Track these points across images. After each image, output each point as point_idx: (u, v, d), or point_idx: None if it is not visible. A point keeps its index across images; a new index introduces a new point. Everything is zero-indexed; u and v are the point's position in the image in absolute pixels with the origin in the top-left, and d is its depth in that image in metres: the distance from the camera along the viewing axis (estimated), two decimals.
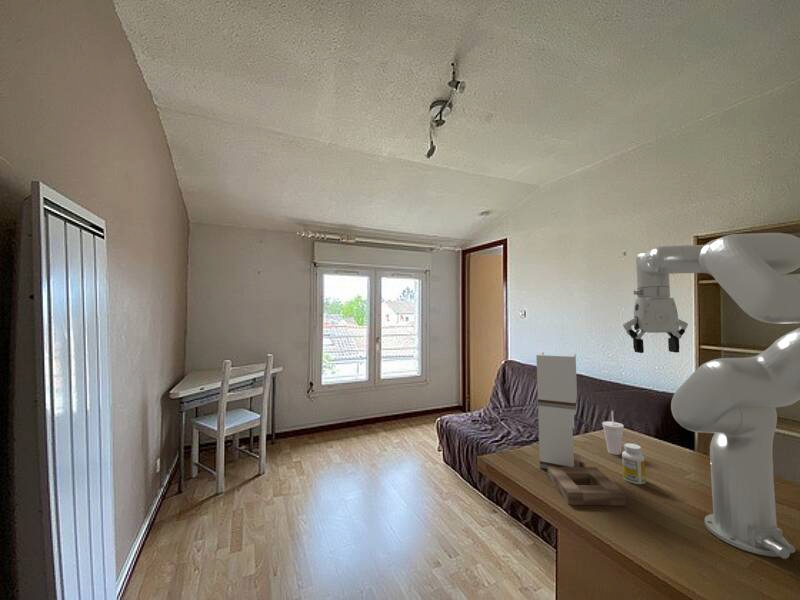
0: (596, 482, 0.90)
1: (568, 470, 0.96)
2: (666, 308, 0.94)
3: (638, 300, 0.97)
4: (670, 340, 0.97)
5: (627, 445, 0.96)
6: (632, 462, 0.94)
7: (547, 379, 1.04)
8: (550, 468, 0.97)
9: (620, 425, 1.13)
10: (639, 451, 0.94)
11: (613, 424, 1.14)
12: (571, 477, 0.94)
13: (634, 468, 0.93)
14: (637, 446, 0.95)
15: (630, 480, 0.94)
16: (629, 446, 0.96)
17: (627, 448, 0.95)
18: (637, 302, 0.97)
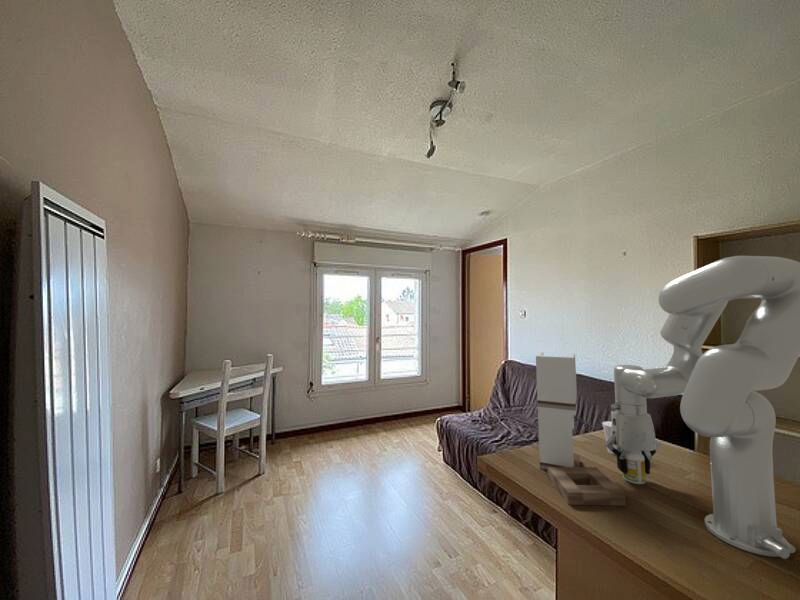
0: (596, 482, 0.90)
1: (568, 470, 0.96)
2: (643, 426, 0.93)
3: (615, 415, 0.96)
4: None
5: None
6: (632, 462, 0.94)
7: (546, 380, 1.03)
8: (550, 468, 0.97)
9: None
10: (639, 451, 0.94)
11: None
12: (571, 477, 0.94)
13: (634, 468, 0.93)
14: None
15: (630, 480, 0.94)
16: None
17: None
18: (614, 416, 0.97)
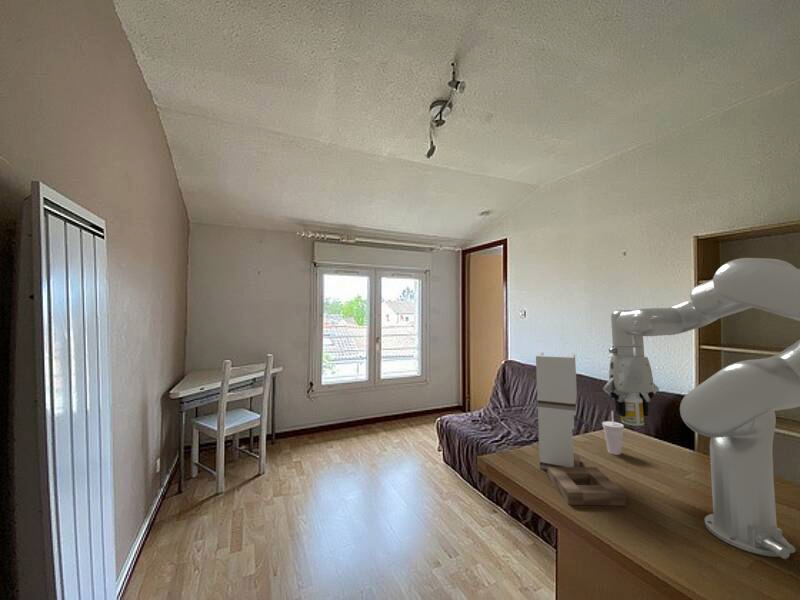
0: (596, 482, 0.90)
1: (568, 470, 0.96)
2: (640, 368, 0.94)
3: (613, 359, 0.97)
4: None
5: None
6: (630, 404, 0.94)
7: (546, 380, 1.03)
8: (550, 468, 0.97)
9: (620, 425, 1.13)
10: (637, 393, 0.94)
11: (613, 424, 1.14)
12: (571, 477, 0.94)
13: (632, 410, 0.94)
14: None
15: (628, 422, 0.94)
16: None
17: None
18: (612, 360, 0.97)
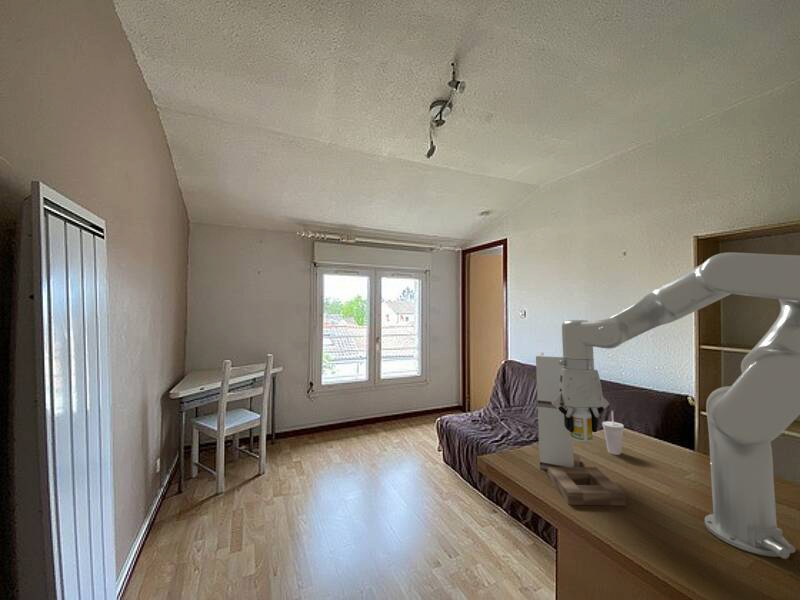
0: (596, 482, 0.90)
1: (568, 470, 0.96)
2: (589, 382, 0.89)
3: (562, 371, 0.92)
4: None
5: None
6: (578, 419, 0.89)
7: (546, 380, 1.03)
8: (550, 468, 0.97)
9: (620, 425, 1.13)
10: (585, 408, 0.90)
11: (613, 424, 1.14)
12: (571, 477, 0.94)
13: (580, 426, 0.89)
14: None
15: (576, 438, 0.90)
16: None
17: None
18: (561, 373, 0.92)
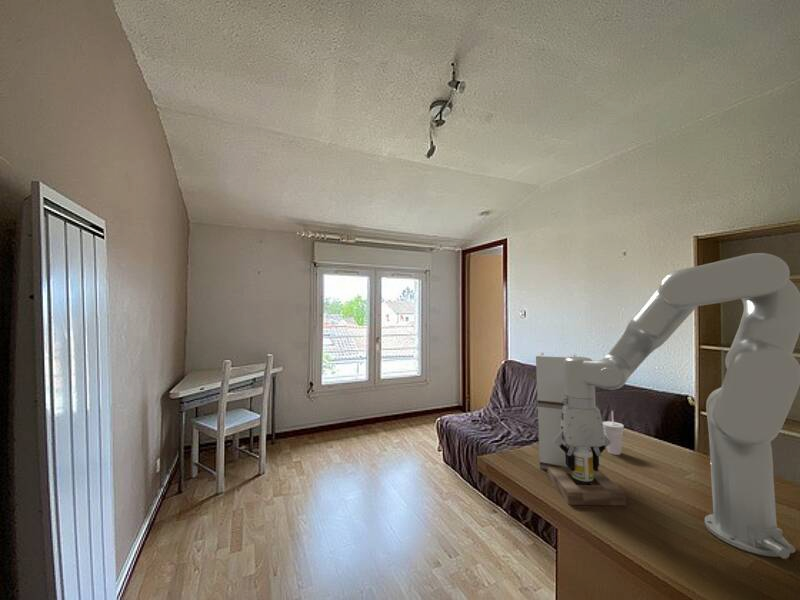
0: (596, 482, 0.90)
1: (568, 470, 0.96)
2: (591, 421, 0.89)
3: (563, 409, 0.91)
4: None
5: None
6: (579, 458, 0.89)
7: (546, 380, 1.03)
8: (550, 468, 0.97)
9: (620, 425, 1.13)
10: (587, 447, 0.89)
11: (613, 424, 1.14)
12: (571, 477, 0.94)
13: (581, 465, 0.89)
14: None
15: (577, 477, 0.89)
16: None
17: None
18: (563, 411, 0.92)
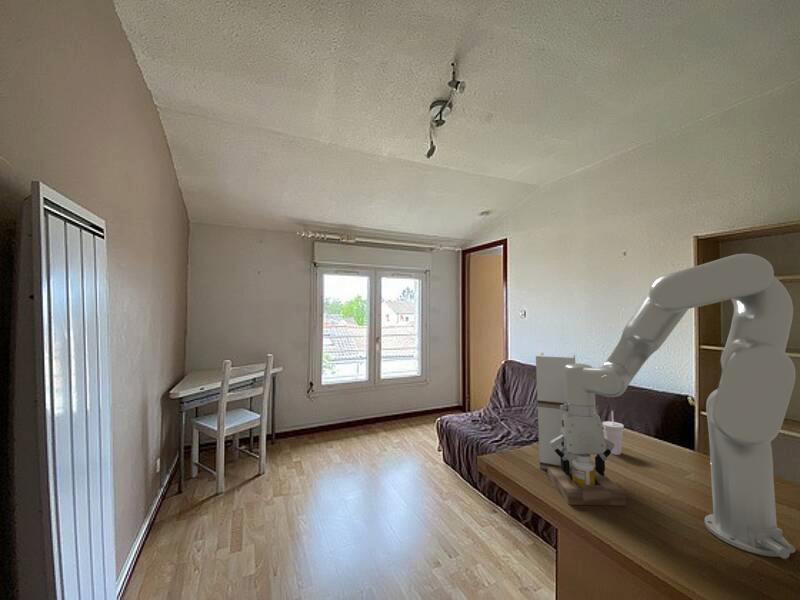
0: (596, 482, 0.90)
1: None
2: (591, 428, 0.88)
3: (564, 416, 0.91)
4: (596, 460, 0.91)
5: None
6: (580, 471, 0.89)
7: (546, 380, 1.03)
8: (550, 468, 0.97)
9: (620, 425, 1.13)
10: (588, 460, 0.89)
11: (613, 424, 1.14)
12: (571, 477, 0.94)
13: (582, 478, 0.88)
14: (587, 454, 0.91)
15: None
16: (578, 454, 0.91)
17: (576, 456, 0.90)
18: (563, 418, 0.92)
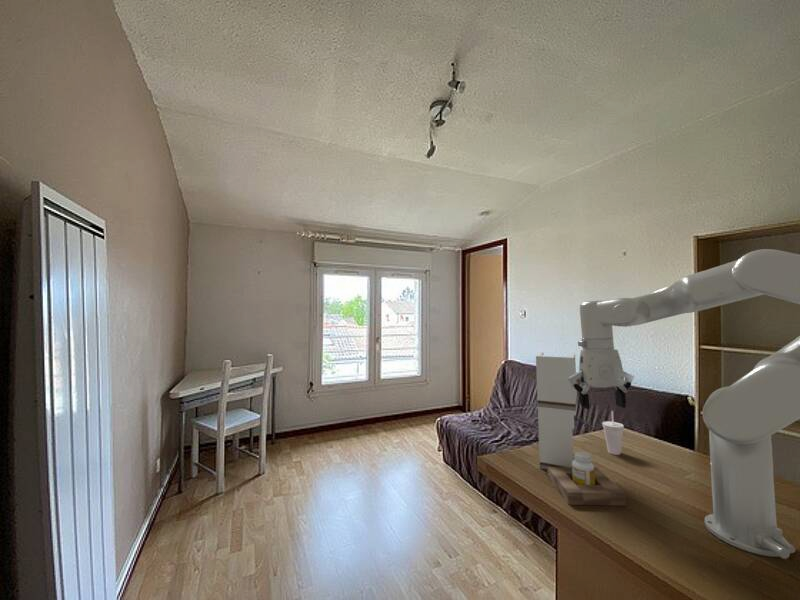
0: (596, 482, 0.90)
1: (568, 470, 0.96)
2: (610, 361, 0.90)
3: (582, 352, 0.92)
4: (617, 393, 0.92)
5: (577, 453, 0.91)
6: (581, 471, 0.89)
7: (546, 380, 1.03)
8: (550, 468, 0.97)
9: (620, 425, 1.13)
10: (588, 460, 0.89)
11: (613, 424, 1.14)
12: (571, 477, 0.94)
13: (582, 478, 0.88)
14: (587, 454, 0.91)
15: None
16: (578, 454, 0.91)
17: (576, 456, 0.90)
18: (581, 354, 0.93)
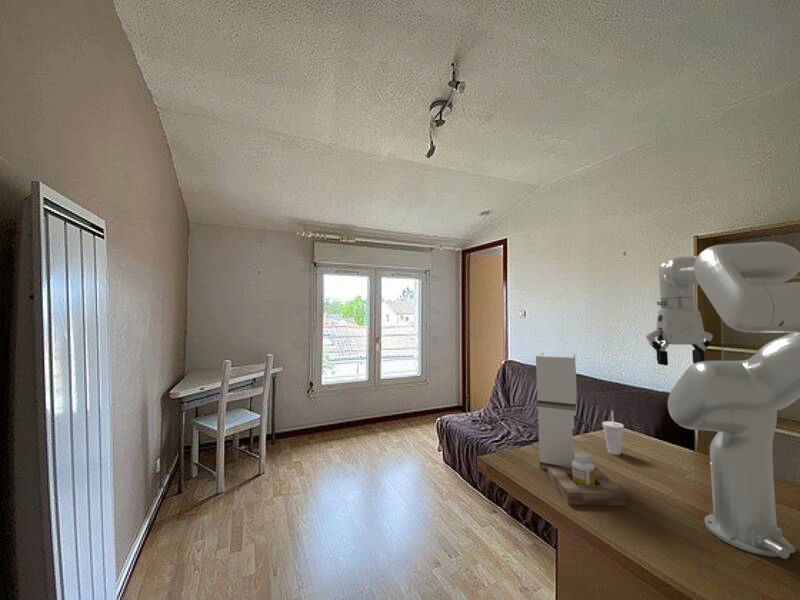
0: (596, 482, 0.90)
1: (568, 470, 0.96)
2: (691, 319, 0.92)
3: (662, 311, 0.95)
4: (694, 352, 0.94)
5: (577, 453, 0.91)
6: (581, 472, 0.89)
7: (546, 380, 1.03)
8: (550, 468, 0.97)
9: (620, 425, 1.13)
10: (588, 460, 0.89)
11: (613, 424, 1.14)
12: (571, 477, 0.94)
13: (582, 478, 0.88)
14: (587, 454, 0.91)
15: None
16: (578, 454, 0.91)
17: (576, 457, 0.90)
18: (660, 313, 0.95)
